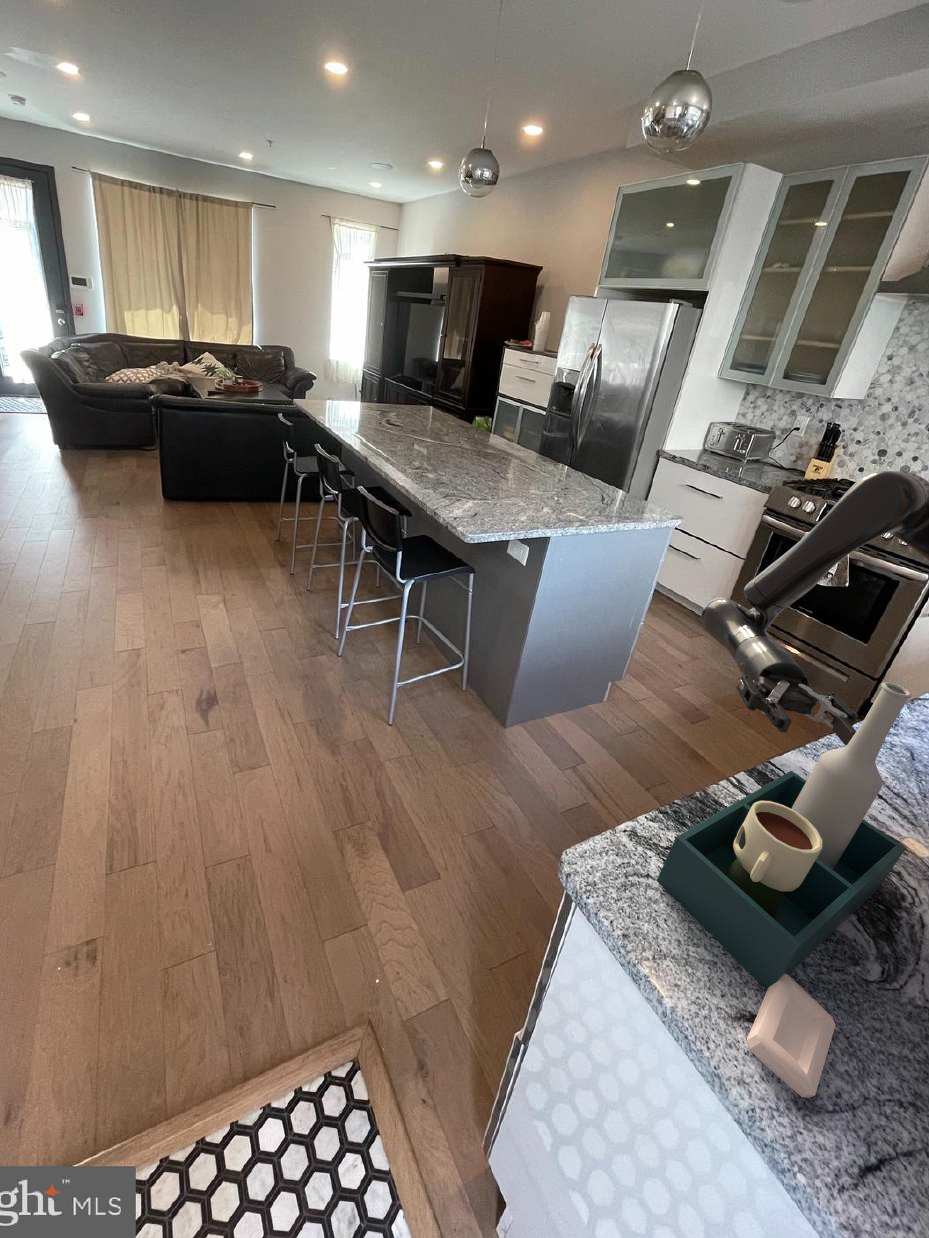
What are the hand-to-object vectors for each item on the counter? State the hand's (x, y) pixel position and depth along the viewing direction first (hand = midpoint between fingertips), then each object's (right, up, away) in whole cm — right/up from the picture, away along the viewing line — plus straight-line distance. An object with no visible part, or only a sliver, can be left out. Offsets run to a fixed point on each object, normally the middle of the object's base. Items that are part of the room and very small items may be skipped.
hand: (819, 734), depth 74 cm
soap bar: (-18, -24, -20) cm, 36 cm away
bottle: (-3, -17, -1) cm, 17 cm away
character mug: (-15, -18, -8) cm, 25 cm away
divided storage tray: (-9, -18, -4) cm, 20 cm away
